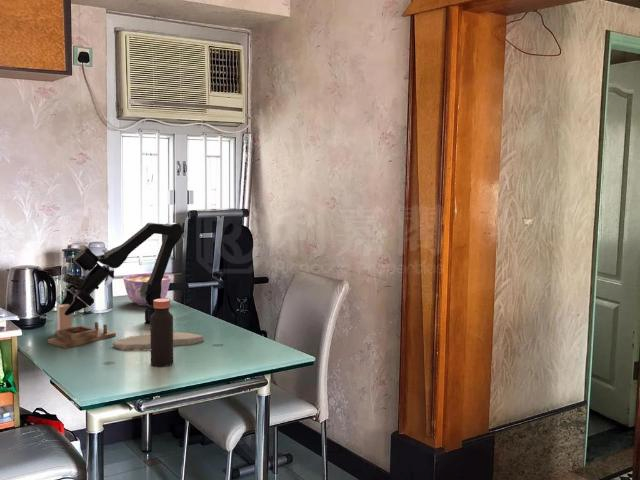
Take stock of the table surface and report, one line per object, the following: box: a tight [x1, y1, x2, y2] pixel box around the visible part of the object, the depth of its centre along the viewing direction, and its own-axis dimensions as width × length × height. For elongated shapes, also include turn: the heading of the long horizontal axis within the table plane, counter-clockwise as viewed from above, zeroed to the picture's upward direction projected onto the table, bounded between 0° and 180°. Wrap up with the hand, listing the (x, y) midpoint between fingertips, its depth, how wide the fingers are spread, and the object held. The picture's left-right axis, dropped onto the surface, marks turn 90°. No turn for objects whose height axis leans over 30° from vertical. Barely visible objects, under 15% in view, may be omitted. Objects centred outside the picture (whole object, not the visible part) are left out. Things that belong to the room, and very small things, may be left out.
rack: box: [47, 321, 117, 349], centre depth 232 cm, size 20×10×4 cm, turn 144°
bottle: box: [149, 298, 174, 368], centre depth 205 cm, size 7×7×20 cm
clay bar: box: [56, 304, 73, 331], centre depth 239 cm, size 4×4×10 cm
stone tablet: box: [112, 331, 204, 351], centre depth 231 cm, size 16×30×2 cm, turn 121°
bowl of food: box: [123, 273, 172, 307], centre depth 290 cm, size 20×20×12 cm
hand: (62, 312), depth 239 cm, fingers open, 9 cm apart
